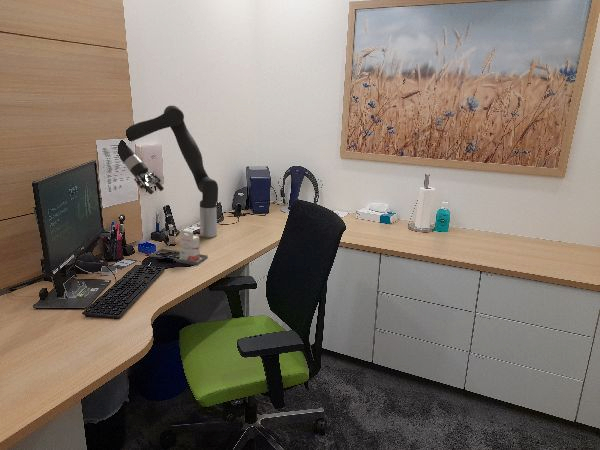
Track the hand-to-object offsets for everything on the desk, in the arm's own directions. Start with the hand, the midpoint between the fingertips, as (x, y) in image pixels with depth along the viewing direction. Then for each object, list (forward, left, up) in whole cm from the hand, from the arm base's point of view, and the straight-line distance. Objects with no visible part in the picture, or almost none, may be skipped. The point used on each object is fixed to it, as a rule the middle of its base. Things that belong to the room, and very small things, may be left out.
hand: (157, 191), depth 215 cm
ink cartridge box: (+6, +21, -31) cm, 37 cm away
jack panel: (+6, +15, -31) cm, 34 cm away
